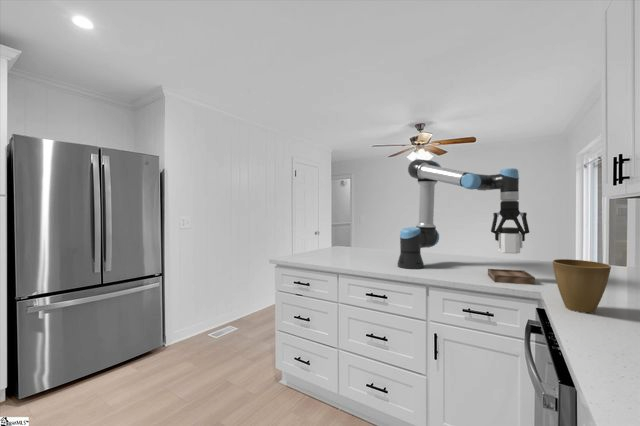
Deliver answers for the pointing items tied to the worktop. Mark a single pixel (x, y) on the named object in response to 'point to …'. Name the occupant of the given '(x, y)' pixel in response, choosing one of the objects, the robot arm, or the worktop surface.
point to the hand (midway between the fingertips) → (509, 247)
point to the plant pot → (581, 283)
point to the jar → (510, 240)
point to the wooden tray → (511, 276)
